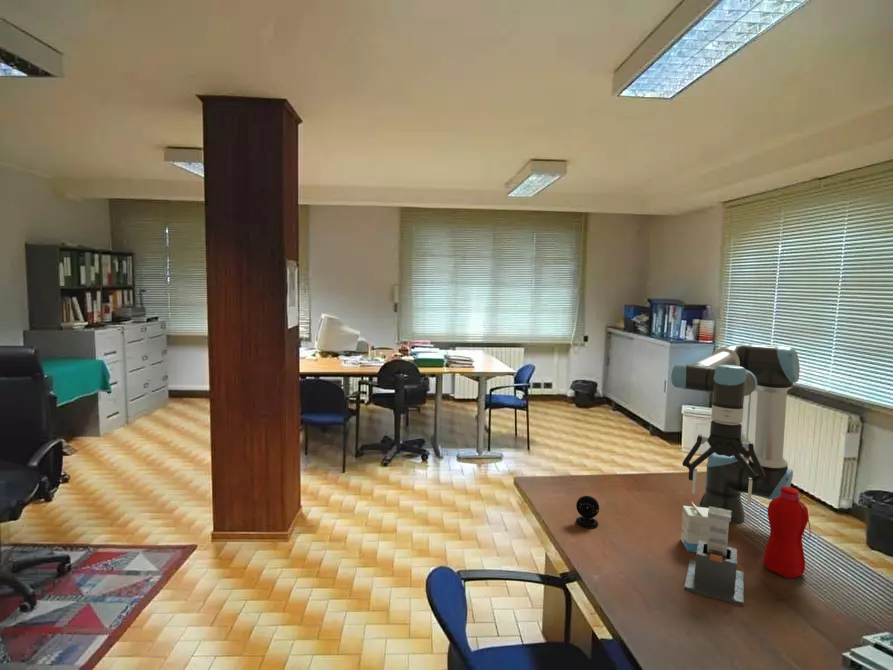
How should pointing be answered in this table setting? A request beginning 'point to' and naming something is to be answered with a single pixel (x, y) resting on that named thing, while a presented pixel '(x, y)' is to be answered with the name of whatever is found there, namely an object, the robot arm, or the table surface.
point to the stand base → (715, 575)
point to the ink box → (694, 526)
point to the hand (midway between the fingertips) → (720, 497)
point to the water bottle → (786, 534)
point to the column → (718, 531)
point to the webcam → (587, 511)
